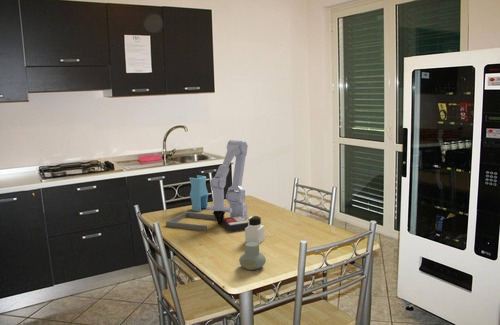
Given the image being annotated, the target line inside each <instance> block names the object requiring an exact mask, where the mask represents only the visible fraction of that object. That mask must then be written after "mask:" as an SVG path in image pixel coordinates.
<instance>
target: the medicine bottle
mask: <svg viewBox="0 0 500 325" xmlns="http://www.w3.org/2000/svg"><path fill="white" fill-rule="evenodd" d="M261 220H262V219H261V216H257V215H252V216H249V217H248V218H247V222H248V227H246V228H245V230H244V237H245V240H244V242H245V243H248V242H257V243H258V244H259V245H260V243H262V242H264V241H265V225H262V221H261Z"/></svg>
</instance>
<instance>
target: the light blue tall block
mask: <svg viewBox="0 0 500 325" xmlns="http://www.w3.org/2000/svg"><path fill="white" fill-rule="evenodd" d="M188 179H189V182H190V186H191V187H190V193H189V197H190V200H191V211H195V212H199V213H200V212H202V209H206V207H207V206H209V204H208V198H209V192H208V189H207V186H206V184H207V183H206V181H207V176H205V175H196V178H195V177H189V178H188Z"/></svg>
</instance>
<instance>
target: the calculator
mask: <svg viewBox="0 0 500 325" xmlns="http://www.w3.org/2000/svg"><path fill="white" fill-rule="evenodd" d="M221 225H222V226H223V227H224V228H225V229H227V231H228V232H230V233H232V232H233V233H234V232H240V231H245V228H246V227H248V220H246V219H243V218H242V217H240V216H237V217H232V218H231V217H230V216H229V217H224V218H223V219H222V224H221Z"/></svg>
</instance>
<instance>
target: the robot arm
mask: <svg viewBox="0 0 500 325" xmlns="http://www.w3.org/2000/svg"><path fill="white" fill-rule="evenodd" d="M248 146H249V145H248V144H247V141H246V140H236V139H235V140H234V139H230V140H228V142H227V144H226V154H225V156H224V159H223V162H222V164H220V165H219V166H218V168H217V170H216V173H215V175H214V177H212V178H211V179H210V183H209V184H210V187H211V191H212V200H213V201H212V202H213V205H208V206H207V207H206V208H205V209H206V211H213V212H212V215H214V216H215V218H216V223H217V225H219V226H221V225H222V219H223V216H224V217H225V213H228V214H229V217H231V218H232V217H237V216H240V217H242V218H243V219H245V220H246V219H248V218H249V217H248V206H247V204H246V203H245V200H246V190H245V188H244V187H243V180H244V171H245V163H246V157H247V154H248ZM234 158H235V162H234V170H233V171H234V172H233V176H232V184H231V185H230V186H229V187H228V188H227V192H226V194H225V191H224V188H225V187H226V184H227V177H228V174H229V172H230V167H229V166H230V165H231V163H232V161H233V160H234ZM225 199H226V201H227V202H228V203H227V204H229V207H227V206H225Z"/></svg>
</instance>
